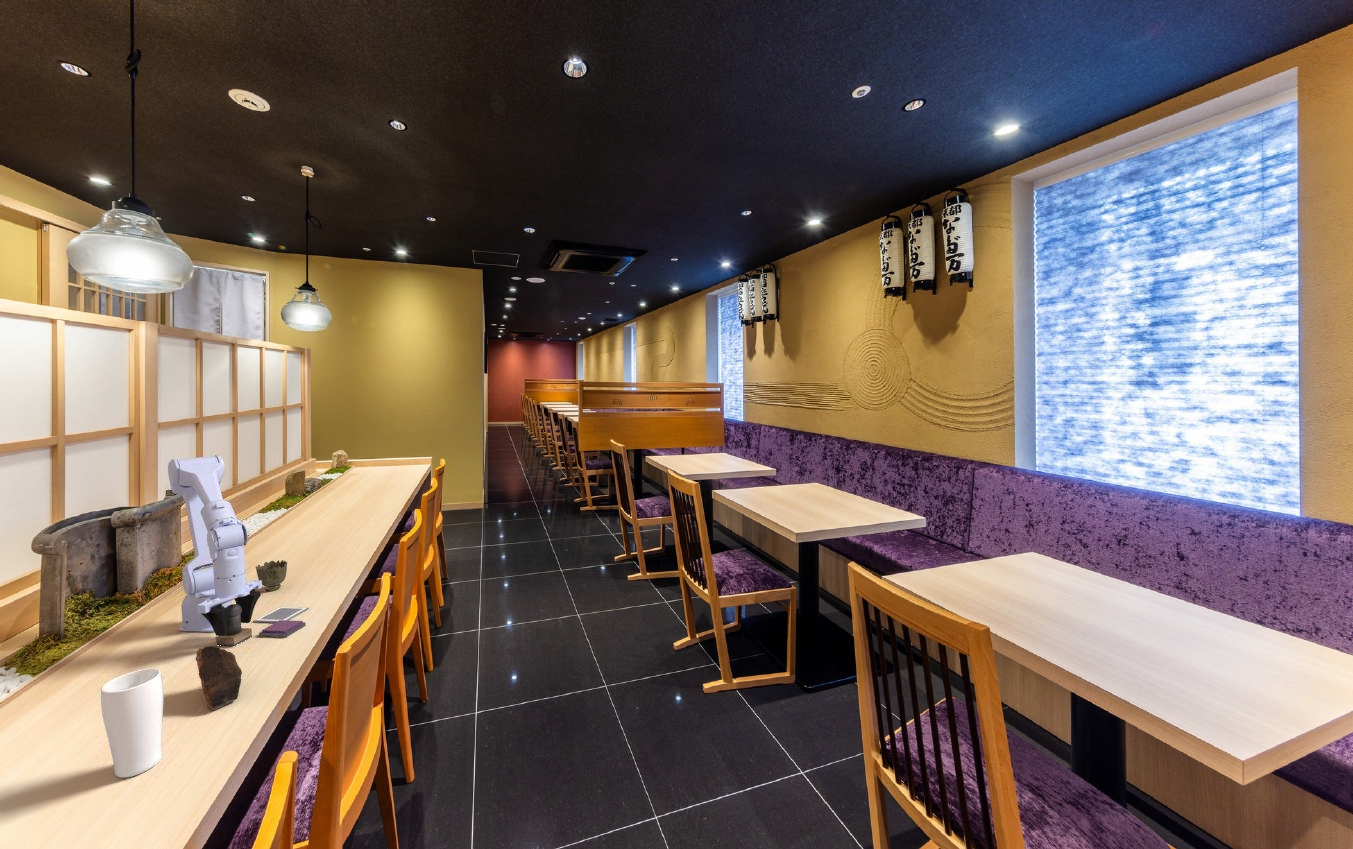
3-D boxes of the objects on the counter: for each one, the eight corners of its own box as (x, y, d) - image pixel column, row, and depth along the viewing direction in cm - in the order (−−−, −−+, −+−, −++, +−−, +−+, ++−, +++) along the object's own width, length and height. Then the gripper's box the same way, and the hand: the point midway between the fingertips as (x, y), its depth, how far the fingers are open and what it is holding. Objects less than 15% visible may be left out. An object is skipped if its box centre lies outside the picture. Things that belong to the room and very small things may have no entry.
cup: (270, 595, 147) (269, 569, 146) (250, 593, 148) (249, 567, 147) (294, 585, 154) (293, 560, 153) (275, 583, 155) (274, 558, 155)
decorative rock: (196, 691, 101) (191, 640, 100) (235, 677, 106) (231, 629, 105) (204, 716, 93) (200, 662, 93) (246, 701, 98) (242, 649, 97)
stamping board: (252, 622, 130) (252, 620, 130) (280, 608, 138) (280, 606, 138) (283, 623, 130) (283, 621, 130) (308, 608, 138) (308, 607, 138)
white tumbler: (163, 745, 86) (157, 663, 85) (173, 763, 82) (166, 676, 81) (104, 770, 80) (96, 682, 79) (111, 790, 76) (103, 698, 75)
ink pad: (259, 636, 123) (258, 630, 123) (279, 624, 129) (279, 619, 129) (286, 637, 123) (285, 631, 122) (305, 625, 128) (305, 620, 128)
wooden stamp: (216, 646, 118) (213, 608, 118) (234, 636, 123) (232, 600, 122) (234, 646, 118) (232, 609, 117) (252, 636, 123) (249, 600, 122)
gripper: (216, 587, 112) (220, 644, 113) (271, 563, 126) (275, 615, 127) (186, 586, 112) (191, 643, 113) (245, 563, 127) (249, 614, 128)
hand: (233, 628), depth 120 cm, fingers open, 6 cm apart
